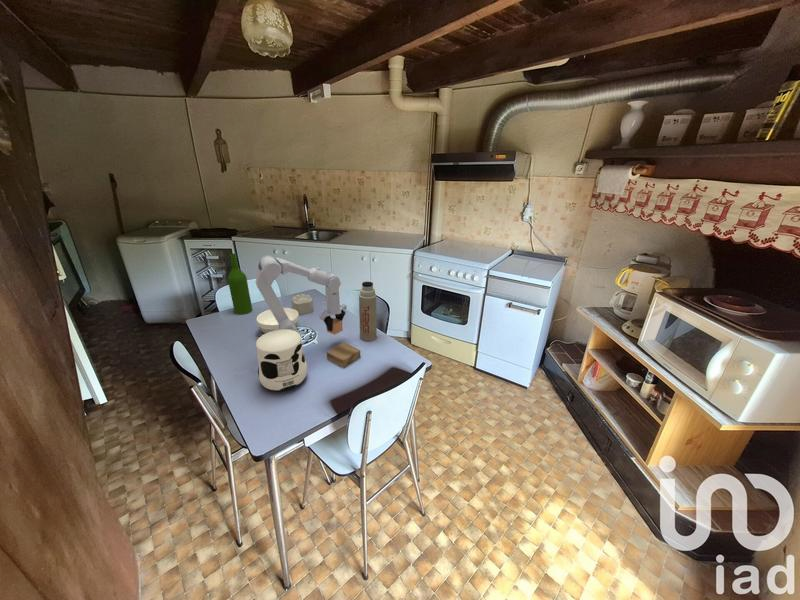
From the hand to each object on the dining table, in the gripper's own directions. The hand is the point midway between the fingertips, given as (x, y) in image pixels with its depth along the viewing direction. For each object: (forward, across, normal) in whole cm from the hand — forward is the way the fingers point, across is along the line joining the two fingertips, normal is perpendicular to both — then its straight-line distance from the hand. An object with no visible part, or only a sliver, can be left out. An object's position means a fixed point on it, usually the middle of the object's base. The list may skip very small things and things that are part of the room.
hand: (334, 328), depth 139 cm
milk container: (+9, -30, -3) cm, 31 cm away
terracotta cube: (+1, 0, 0) cm, 1 cm away
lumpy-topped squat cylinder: (+9, +15, +41) cm, 44 cm away
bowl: (+9, -8, +30) cm, 32 cm away
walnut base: (+9, -6, -11) cm, 15 cm away
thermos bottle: (+9, +14, -8) cm, 18 cm away
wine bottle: (+9, -6, +65) cm, 66 cm away
